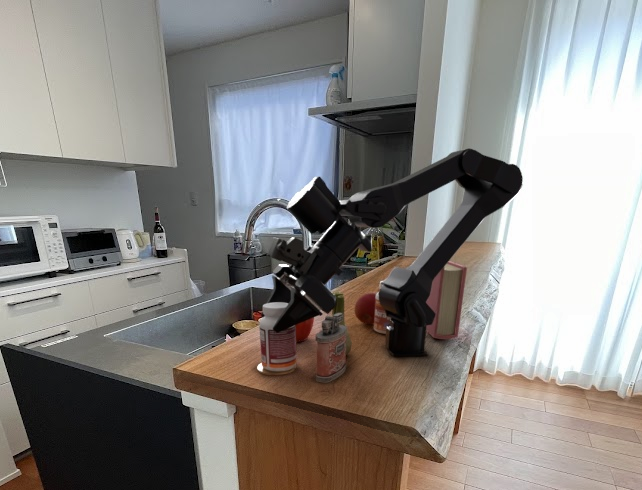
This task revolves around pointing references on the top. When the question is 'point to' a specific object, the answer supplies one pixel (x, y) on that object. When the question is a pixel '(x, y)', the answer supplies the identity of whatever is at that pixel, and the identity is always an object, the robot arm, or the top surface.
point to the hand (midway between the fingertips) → (268, 323)
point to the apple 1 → (303, 329)
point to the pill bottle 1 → (276, 340)
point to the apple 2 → (366, 308)
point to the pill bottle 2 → (380, 316)
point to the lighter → (331, 349)
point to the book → (447, 301)
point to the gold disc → (267, 372)
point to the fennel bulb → (340, 309)
